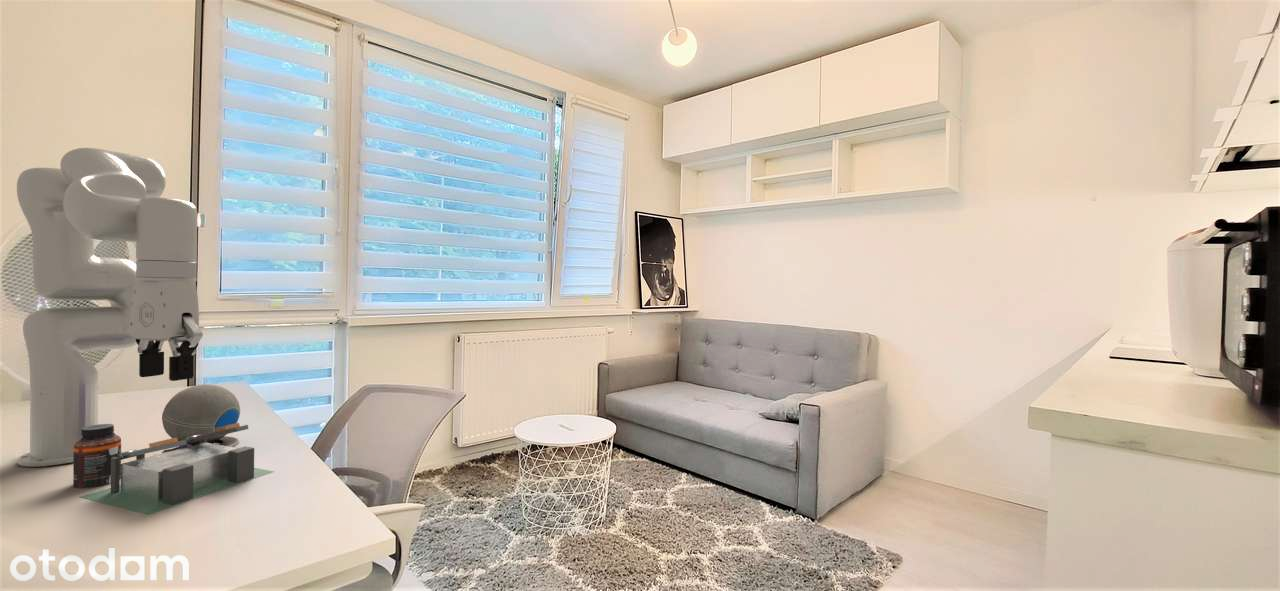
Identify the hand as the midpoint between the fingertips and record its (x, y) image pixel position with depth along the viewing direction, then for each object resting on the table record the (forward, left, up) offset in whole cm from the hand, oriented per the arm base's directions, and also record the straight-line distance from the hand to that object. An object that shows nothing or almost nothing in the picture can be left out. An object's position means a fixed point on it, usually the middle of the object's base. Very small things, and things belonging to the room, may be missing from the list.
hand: (166, 376), depth 86 cm
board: (-4, +5, -22) cm, 23 cm away
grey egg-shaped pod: (-23, +20, -22) cm, 37 cm away
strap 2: (-3, +10, -13) cm, 17 cm away
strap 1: (-3, 0, -13) cm, 14 cm away
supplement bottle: (-19, 0, -22) cm, 29 cm away
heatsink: (-4, +5, -21) cm, 22 cm away
